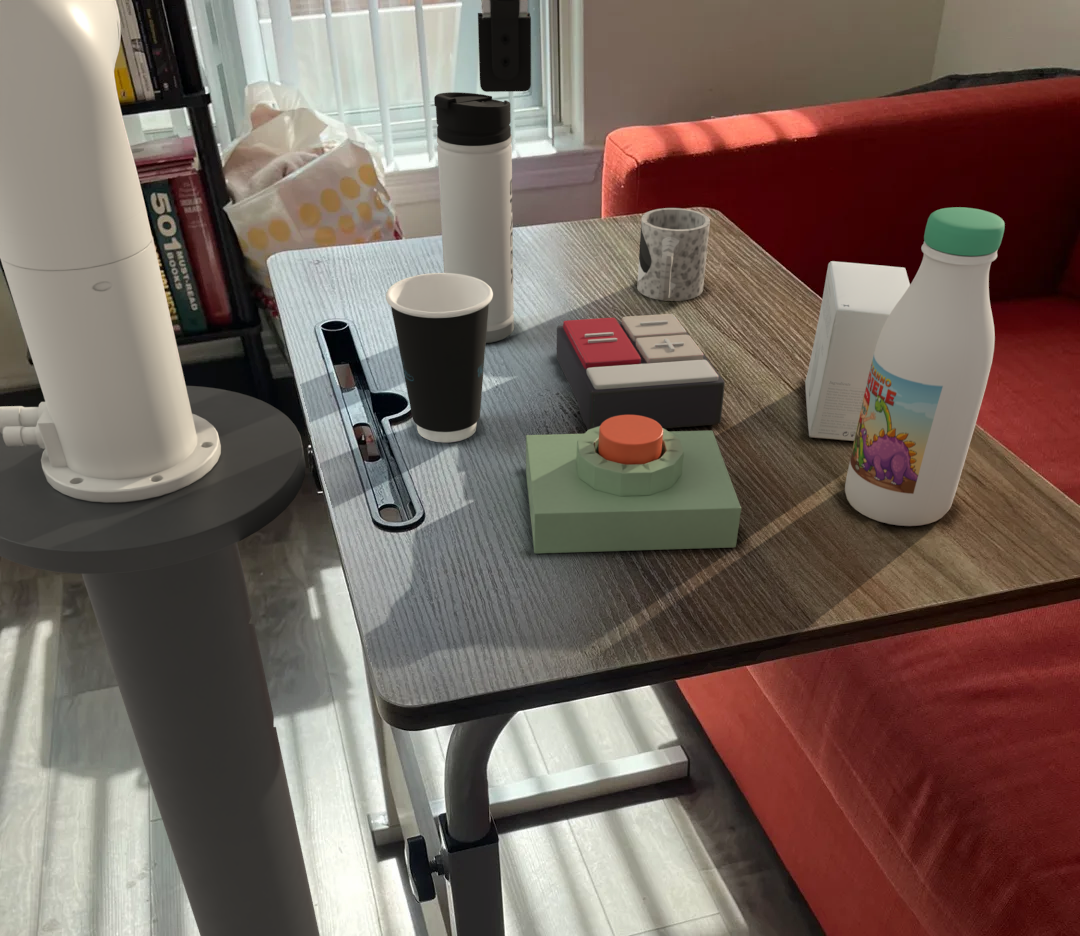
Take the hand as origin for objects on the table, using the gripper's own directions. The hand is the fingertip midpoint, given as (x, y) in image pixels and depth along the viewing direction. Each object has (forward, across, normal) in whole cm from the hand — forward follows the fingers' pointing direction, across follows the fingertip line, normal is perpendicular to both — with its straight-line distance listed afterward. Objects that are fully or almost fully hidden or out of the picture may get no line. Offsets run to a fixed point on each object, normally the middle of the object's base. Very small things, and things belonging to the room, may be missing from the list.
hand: (505, 87), depth 71 cm
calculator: (+25, -9, +11) cm, 29 cm away
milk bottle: (+25, +10, +28) cm, 39 cm away
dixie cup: (+25, -3, -5) cm, 26 cm away
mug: (+25, -30, +17) cm, 43 cm away
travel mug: (+25, -22, -2) cm, 34 cm away
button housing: (+25, +10, +8) cm, 28 cm away
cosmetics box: (+25, -4, +28) cm, 38 cm away
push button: (+21, +10, +8) cm, 24 cm away
